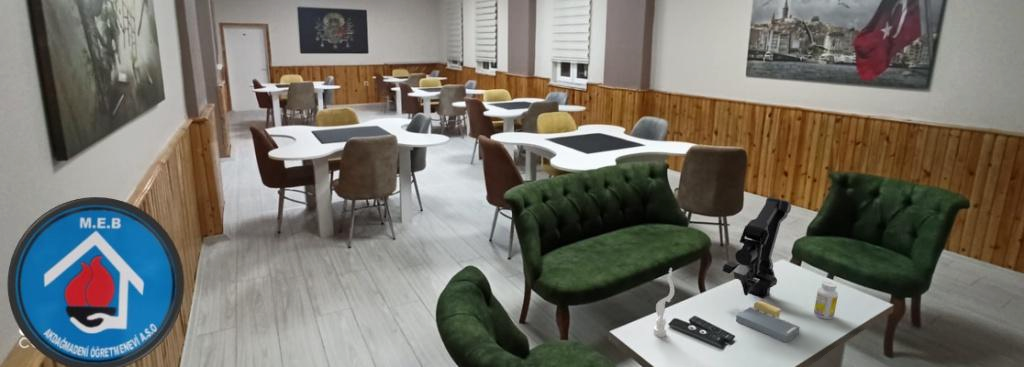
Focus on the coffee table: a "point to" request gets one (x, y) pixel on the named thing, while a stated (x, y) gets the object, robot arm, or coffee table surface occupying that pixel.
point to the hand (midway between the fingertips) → (745, 295)
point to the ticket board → (768, 324)
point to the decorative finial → (663, 309)
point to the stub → (767, 308)
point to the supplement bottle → (826, 300)
